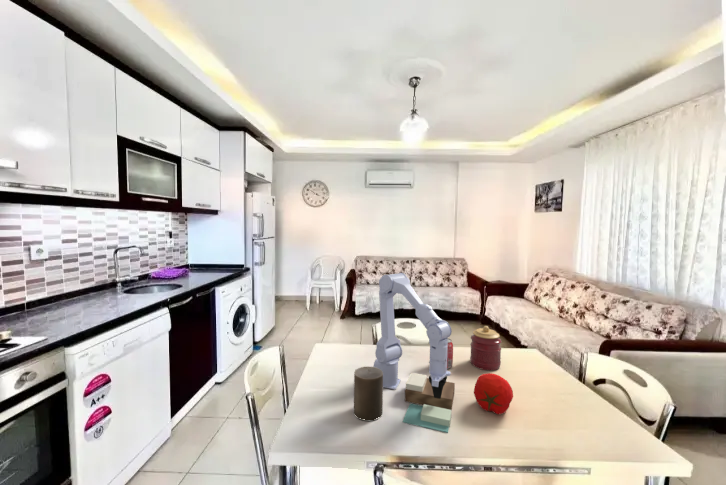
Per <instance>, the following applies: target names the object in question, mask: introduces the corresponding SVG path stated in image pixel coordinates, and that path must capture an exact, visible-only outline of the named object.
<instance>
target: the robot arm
mask: <svg viewBox="0 0 726 485" xmlns="http://www.w3.org/2000/svg"><path fill="white" fill-rule="evenodd" d="M378 285H379V288H378V289H379V291H378V297H379V313H380V315H379V316H380V330H381V331H380V332H381V336H380V338H379V339H378V341H377V342H376V347H375V348H376V349H375V353H374V354H375V358H376V359H375V360H374V362H373V366H372V367H377V368H378V369H380V370H382V372H383V388H386V389H392V390H397V388H398V386H399V384H400V382H401V378H398V377H399V376H398V375H399V361H400V358H401V357H402V356H403V348H402V346H401V340H400V339H399V338H398V337H397V336H396V325H395V324H396V322H395V308H394V307H395V306H394V297H395V296H396V295H398V294H400V295H402V296H403V297H404V298H405V299H406V300H407V302H408V303H409V304H410V306H412V307H413V309H415V316H416V317H417V318H418V320H419V321H420V322H421V324H422V325H423V326H424V328H425V329H426V336H427V338H428V344H429V367H428V374H429V376H428V378H429V382H430V384H431V386H432V390H433V395H434V398H437V399H440V398H441V395H442V390H443V386H444V385H445V383H446V382H447V380H448V377H451V375H452V373H451V371H449V370H448V369H447V349H448V338H450V337H451V335H452V327H451V325H450V324H449V322H448V321H446V320H444V319H442V318H440V317H439V316H438V314H437V313H436V312H435V311H434V310H433V307H432V306H431V305H429V304H428V303H424V302H423V300H421V298H420V297H419V295H418V293H416V291H415V290H414V288H413V286H412V285H411V280H410V278H408V275H407V274H406V273H403V272H398V273H392V274H384V275H382V276H381V277H380V278H379V279H378ZM446 338H447V339H446Z"/></svg>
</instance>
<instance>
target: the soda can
mask: <svg viewBox="0 0 726 485" xmlns="http://www.w3.org/2000/svg"><path fill="white" fill-rule="evenodd" d="M446 339H447V338H446ZM453 362H454V345H453V341H452V339H450V337H448V349H447V370H448V369H450V368H452V367H453Z"/></svg>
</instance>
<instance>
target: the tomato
mask: <svg viewBox="0 0 726 485" xmlns="http://www.w3.org/2000/svg"><path fill="white" fill-rule="evenodd" d="M473 395H474V397H475V402H476V403H477V404H478V405H479V407H481V409H482V410H484V411H485V412H493V413H495V414H497V415H502V414H505V413H506V412H507V411H508V410H509V408H510V404H511V403H512V401H513V398H514V393H513V388H512V386H511V384H510V383H509V382H508V381H507V380H506V379H505V378H504V377H502V376H500V375H499V374H496V373H492V372H491V373H490V372H489V373H482V374H481V375H479V376H478V377H477V379H476V382H475V384H474V389H473Z"/></svg>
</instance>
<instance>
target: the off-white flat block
mask: <svg viewBox="0 0 726 485" xmlns="http://www.w3.org/2000/svg"><path fill="white" fill-rule="evenodd" d="M427 378H428V375H427V374H421V373H416V372H410V375H409V377H408V379H407V381H406V383H405V390H406V389H408V390H414V391H419V392H423V390H424V387H425V384H426V381H427Z"/></svg>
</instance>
